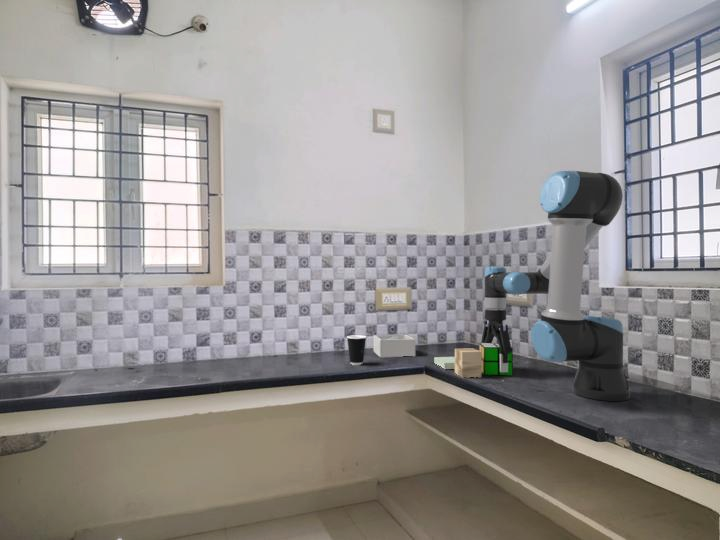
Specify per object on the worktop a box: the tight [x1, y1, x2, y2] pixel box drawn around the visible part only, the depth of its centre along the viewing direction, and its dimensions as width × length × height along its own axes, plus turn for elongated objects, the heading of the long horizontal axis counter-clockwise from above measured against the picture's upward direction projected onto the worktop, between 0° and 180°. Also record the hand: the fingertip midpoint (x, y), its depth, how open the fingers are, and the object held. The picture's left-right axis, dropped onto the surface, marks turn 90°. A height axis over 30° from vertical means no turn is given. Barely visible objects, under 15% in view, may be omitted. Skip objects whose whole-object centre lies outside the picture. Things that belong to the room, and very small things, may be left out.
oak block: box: [454, 347, 482, 379], centre depth 156 cm, size 7×7×9 cm
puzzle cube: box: [479, 342, 514, 377], centre depth 161 cm, size 10×10×10 cm
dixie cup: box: [346, 334, 367, 366], centre depth 176 cm, size 8×8×11 cm
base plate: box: [433, 356, 455, 370], centre depth 172 cm, size 12×12×2 cm
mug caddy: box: [373, 334, 416, 358], centre depth 199 cm, size 16×16×8 cm
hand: (495, 368), depth 161 cm, fingers open, 12 cm apart
